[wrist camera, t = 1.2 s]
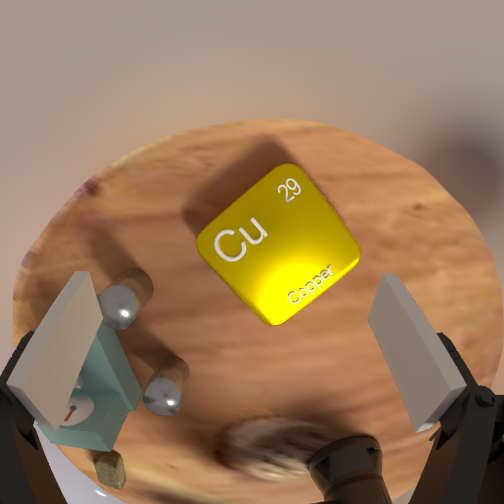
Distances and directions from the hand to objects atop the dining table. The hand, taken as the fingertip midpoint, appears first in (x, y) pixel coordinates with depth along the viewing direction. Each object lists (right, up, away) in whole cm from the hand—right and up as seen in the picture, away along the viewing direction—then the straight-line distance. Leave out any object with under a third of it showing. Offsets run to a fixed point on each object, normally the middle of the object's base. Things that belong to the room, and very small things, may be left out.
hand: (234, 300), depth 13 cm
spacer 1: (-15, -3, +27) cm, 31 cm away
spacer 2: (-11, -16, +30) cm, 36 cm away
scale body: (-26, -15, +30) cm, 42 cm away
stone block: (-30, -45, +38) cm, 66 cm away
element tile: (+4, +3, +26) cm, 26 cm away
